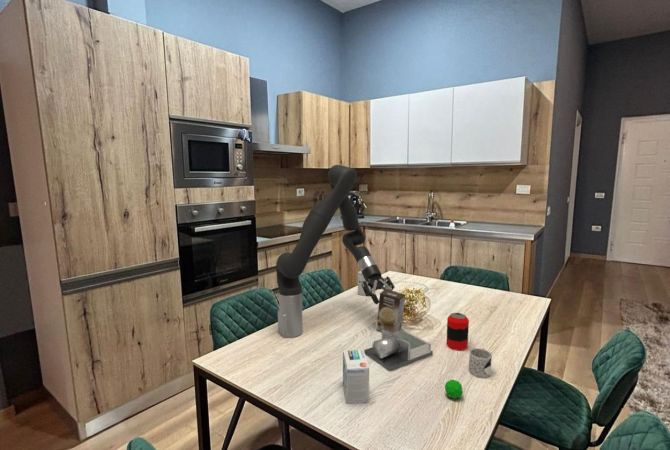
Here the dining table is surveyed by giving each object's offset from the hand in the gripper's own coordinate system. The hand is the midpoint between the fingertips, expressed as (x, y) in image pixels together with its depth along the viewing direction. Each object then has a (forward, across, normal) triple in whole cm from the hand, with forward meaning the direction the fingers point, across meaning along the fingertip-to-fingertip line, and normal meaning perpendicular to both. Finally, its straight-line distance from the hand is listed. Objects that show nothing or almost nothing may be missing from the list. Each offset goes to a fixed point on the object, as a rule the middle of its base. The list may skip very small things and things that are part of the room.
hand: (385, 301), depth 147 cm
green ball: (+41, -13, -24) cm, 50 cm away
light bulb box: (+29, -36, -12) cm, 48 cm away
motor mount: (+22, -10, -5) cm, 25 cm away
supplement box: (-20, +20, +37) cm, 46 cm away
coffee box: (+10, 0, +7) cm, 12 cm away
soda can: (+27, +13, -10) cm, 32 cm away
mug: (+38, +6, -20) cm, 44 cm away
